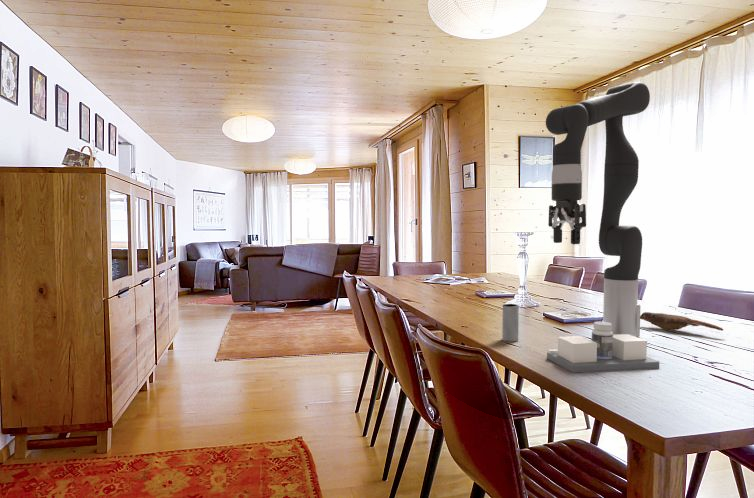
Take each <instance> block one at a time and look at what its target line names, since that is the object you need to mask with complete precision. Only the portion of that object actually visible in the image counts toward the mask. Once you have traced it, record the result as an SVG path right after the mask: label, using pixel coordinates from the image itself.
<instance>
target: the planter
mask: <svg viewBox="0 0 754 498" xmlns="http://www.w3.org/2000/svg"><path fill="white" fill-rule="evenodd" d="M519 308H520V306H519V304H516V303H504V304H502V326H501V328H502V331H501V332H502V333H501V335H502V338H501V339H502V340H503V341H504V342H511V343H513V342H515V343H516V342H518V341H519V327H520V325H519V322H520V321H519V317H520V313H519V312H520V309H519Z"/></svg>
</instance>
